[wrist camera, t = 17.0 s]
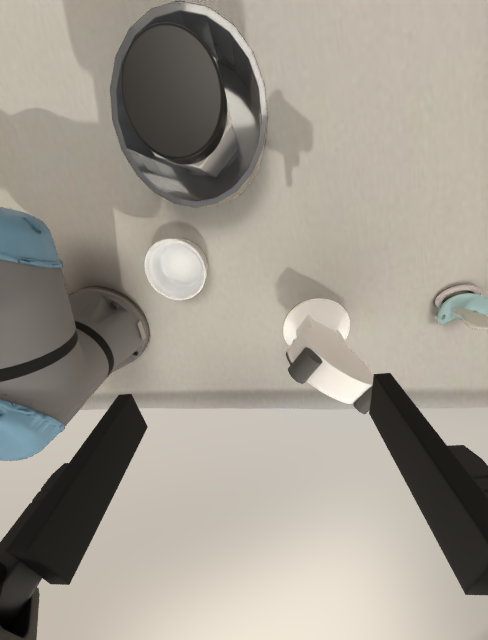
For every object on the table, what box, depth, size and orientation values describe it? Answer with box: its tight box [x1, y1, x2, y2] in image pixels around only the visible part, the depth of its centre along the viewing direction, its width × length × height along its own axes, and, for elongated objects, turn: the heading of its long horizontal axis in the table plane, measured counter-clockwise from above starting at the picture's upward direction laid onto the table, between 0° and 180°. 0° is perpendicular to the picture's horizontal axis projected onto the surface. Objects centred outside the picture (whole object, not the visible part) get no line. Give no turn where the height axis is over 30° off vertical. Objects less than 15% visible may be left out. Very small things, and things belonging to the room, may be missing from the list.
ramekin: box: [144, 238, 208, 300], centre depth 35 cm, size 9×9×4 cm
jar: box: [121, 22, 239, 178], centre depth 23 cm, size 9×8×12 cm
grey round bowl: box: [110, 1, 268, 207], centre depth 26 cm, size 15×15×8 cm
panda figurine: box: [283, 298, 374, 414], centre depth 34 cm, size 12×11×15 cm
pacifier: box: [435, 285, 488, 330], centre depth 34 cm, size 7×6×6 cm
